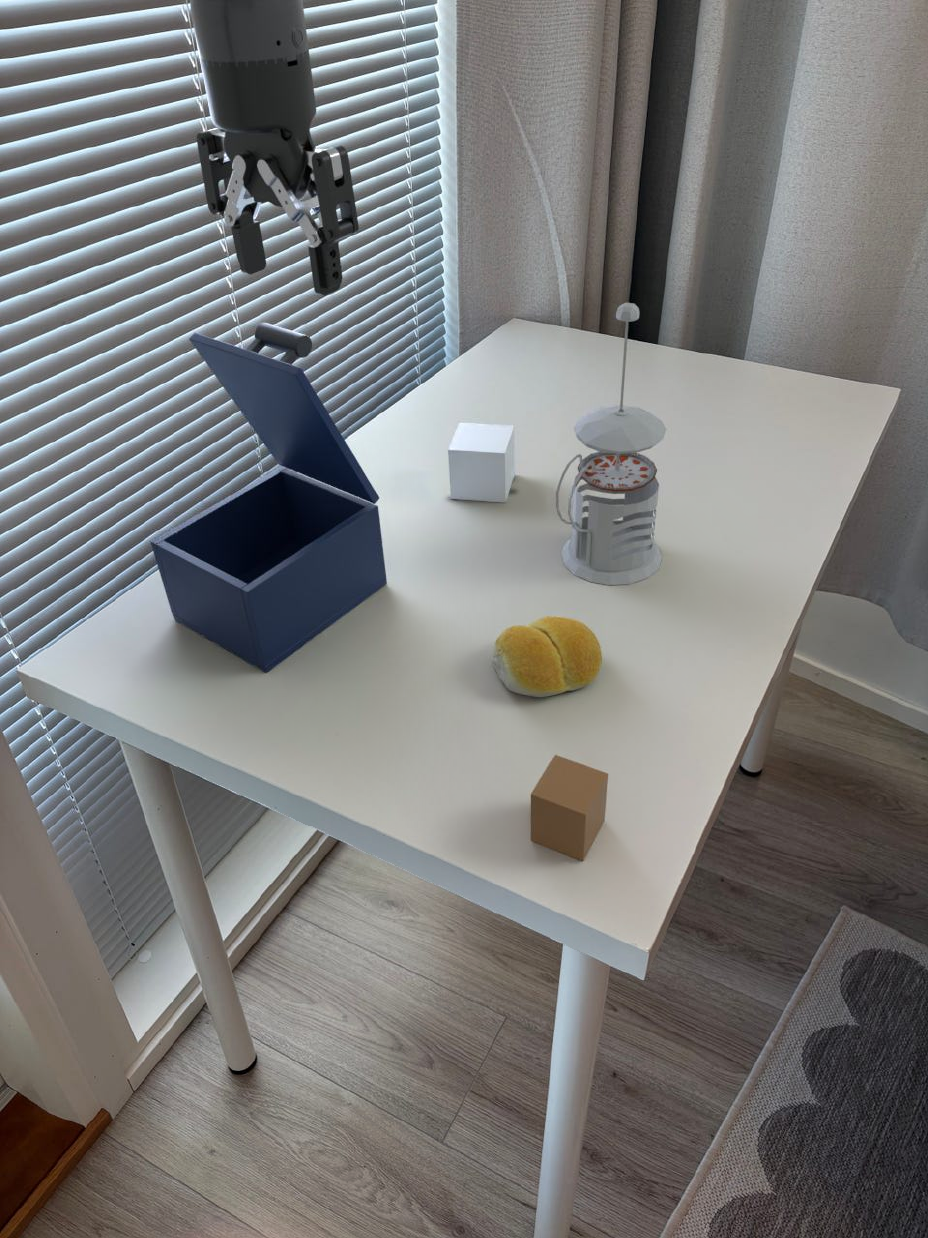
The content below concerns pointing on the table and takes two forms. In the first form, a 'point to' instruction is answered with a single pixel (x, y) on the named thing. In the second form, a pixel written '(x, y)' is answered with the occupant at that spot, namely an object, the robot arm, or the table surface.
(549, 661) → the bread roll
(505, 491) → the white cube
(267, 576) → the box
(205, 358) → the lid
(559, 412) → the table surface
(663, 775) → the table surface
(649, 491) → the french press
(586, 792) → the block
